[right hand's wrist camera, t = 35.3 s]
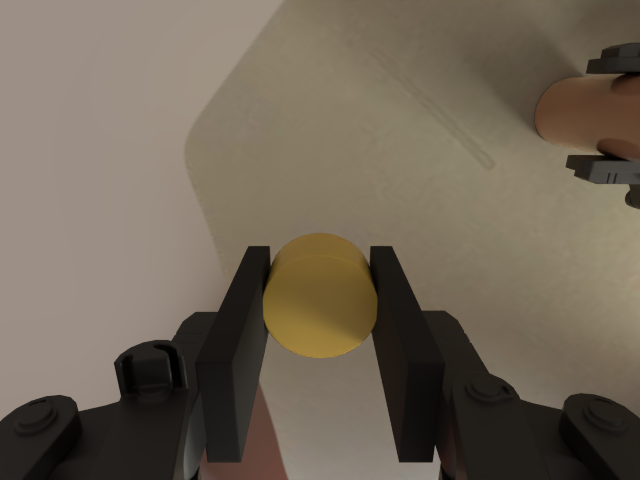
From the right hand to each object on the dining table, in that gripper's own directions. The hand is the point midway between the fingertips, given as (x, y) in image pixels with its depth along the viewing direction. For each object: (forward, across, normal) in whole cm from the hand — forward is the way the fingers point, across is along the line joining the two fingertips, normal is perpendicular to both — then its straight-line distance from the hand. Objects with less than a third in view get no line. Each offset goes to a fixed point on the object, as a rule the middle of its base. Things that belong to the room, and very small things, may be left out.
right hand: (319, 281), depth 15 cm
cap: (-2, 0, 0) cm, 2 cm away
